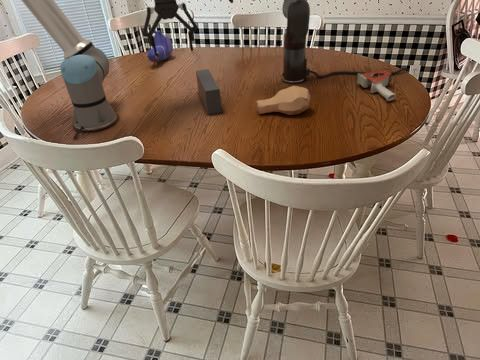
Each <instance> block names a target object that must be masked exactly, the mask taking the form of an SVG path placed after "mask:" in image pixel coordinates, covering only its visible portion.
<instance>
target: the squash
mask: <svg viewBox="0 0 480 360" xmlns="http://www.w3.org/2000/svg"><path fill="white" fill-rule="evenodd" d="M311 98H312V97H311V95H310V90H309V89H307V88H306V87H302V86H298V85H292V86H289V87H287V88H283V89H280V90H279V91H277V92H276V94H275V95H274V96H272V97H271V98H265V99H257V100H256V102H255V103H256V107H257V109H256V110H257V113H258V114H259V115H263V114H266V113H273V112H275V113H282V114H284V115H287V116H295V115H300V114H301V113H303V112H305V111H306V110H308V109H309V107H310V102H311Z"/></svg>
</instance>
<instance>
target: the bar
mask: <svg viewBox="0 0 480 360" xmlns="http://www.w3.org/2000/svg"><path fill="white" fill-rule="evenodd" d="M195 77H196V84H197V85H196V86H197V92H198V94H199V97H200V99H201V103H202V104H203V106H204V109H205V111H206V113H207V116H210V115H215V114H216V115H217V114H222V113H223V111H222V110H223V109H222V101H221V91H220V89H221V88H220V87H219V85H218V84H217V82H216V80H215V78H214V77H213V75H212V73H211V71H210V68H209V69H208V68H205V69H199V70H198V69H197V70H195Z"/></svg>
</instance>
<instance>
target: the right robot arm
mask: <svg viewBox="0 0 480 360" xmlns="http://www.w3.org/2000/svg"><path fill="white" fill-rule="evenodd" d="M252 1H254V2H255V1H256V0H252ZM228 2H229V3H230V4H234V0H228ZM281 10H282V15H283V17H284V18H285V19H286V29H285V31H284V33H283V61H282V64H283V65H282V76H281V77H282V81H283V82H285V83H286V84H287V83H288V84H298V83H299V84H300V83H302V82H304V81H306V80H307V77H309V76H310V75H311V74H313V75H315V77H317V78H319V79H322V78H327V77H329V76H332V75H339V74H341V75H343V74H348V75H358V74H359V73H360V74H364V73H369V72H367V71H352V70H351V71H349V70H347V71H345V70H343V71H342V70H340V71H337V70H336V71H332V72H329V73H326V74H324V75H319V74H318V72H316V71H314V70H311V69H310V68H309V67H308V66H307V65H308V58H307V57H306V49H307V36H308V33H309V30H310V29H309V28H310V19H311V8H310V4H309V2H308V0H283V3H282V8H281ZM403 71H405V72H409V73H410V70H409V69H408V68H407V67H402V68H400V69H398V70H396V71H389V72H390V73H391V75H396V74H399V73H401V72H403ZM378 74H379V73H376V74H374V75H373V76H378Z"/></svg>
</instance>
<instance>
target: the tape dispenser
mask: <svg viewBox="0 0 480 360" xmlns="http://www.w3.org/2000/svg"><path fill="white" fill-rule="evenodd" d="M390 72H391V71H389V70H388V69H381V70H375V71H371V72H368V73H364V74H360V73H359V74H357V79H356V84H357V85H360V86H361V87H362V88H368V87H369V86H370V85H371V87H370V91H369V92H370V94H374V93H378V94H380V95H381V96H382V97H383V98H385V100H386V101H387V102H390V101H393V100H394V99H395V98H396V96H397V95H396V93H395V92H392V91H391V90H389V88H386V87H388V86H389V85H390V83H391V78H392V74H391V73H390ZM376 73H379V74H378V75H377V76H376V77H374V76H375V75H374V74H376Z"/></svg>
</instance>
